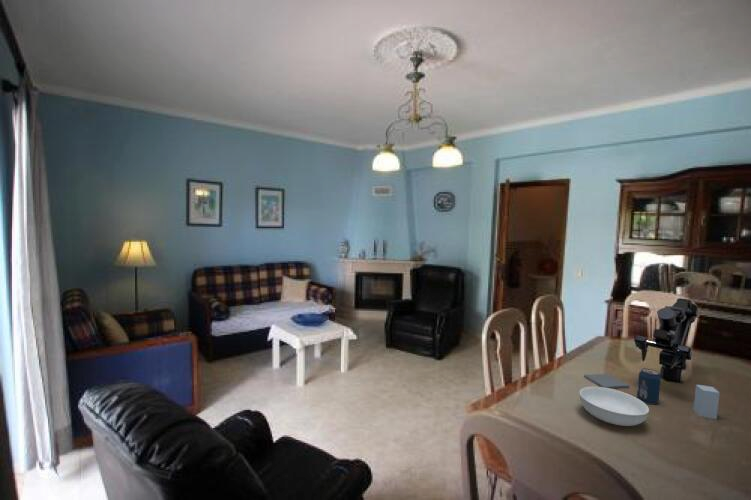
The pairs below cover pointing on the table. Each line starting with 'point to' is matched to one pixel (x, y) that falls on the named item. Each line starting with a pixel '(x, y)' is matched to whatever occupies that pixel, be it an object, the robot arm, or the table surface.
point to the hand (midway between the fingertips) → (656, 364)
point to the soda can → (648, 386)
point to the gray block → (706, 401)
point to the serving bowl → (613, 406)
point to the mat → (606, 381)
